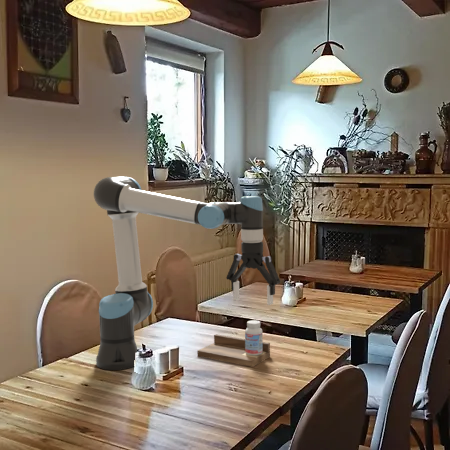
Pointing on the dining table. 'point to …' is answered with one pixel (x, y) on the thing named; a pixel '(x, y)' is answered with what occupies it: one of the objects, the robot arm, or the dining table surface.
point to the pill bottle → (253, 338)
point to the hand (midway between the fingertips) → (253, 302)
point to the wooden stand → (233, 351)
